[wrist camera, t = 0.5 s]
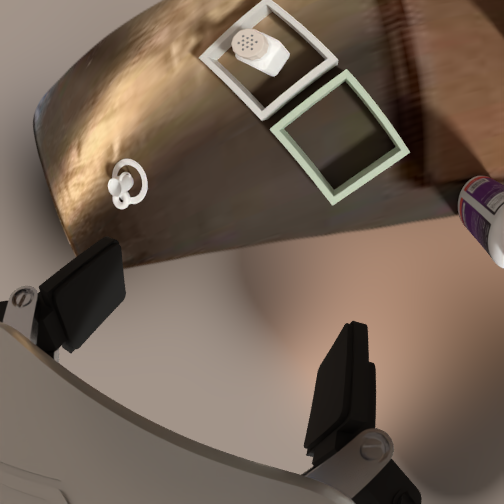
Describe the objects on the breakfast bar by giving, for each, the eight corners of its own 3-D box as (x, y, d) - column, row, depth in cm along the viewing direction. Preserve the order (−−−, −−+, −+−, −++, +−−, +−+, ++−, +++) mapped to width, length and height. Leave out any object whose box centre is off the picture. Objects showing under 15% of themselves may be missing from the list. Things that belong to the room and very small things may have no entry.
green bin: (345, 72, 26) (346, 68, 24) (404, 148, 29) (410, 152, 26) (274, 127, 32) (269, 129, 30) (332, 198, 35) (332, 205, 32)
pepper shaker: (275, 78, 29) (254, 68, 21) (248, 64, 29) (219, 51, 21) (292, 53, 27) (277, 34, 19) (264, 39, 27) (240, 18, 19)
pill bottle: (485, 236, 29) (531, 294, 17) (446, 217, 31) (490, 274, 19) (506, 187, 25) (564, 230, 13) (467, 163, 26) (526, 198, 14)
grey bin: (272, 4, 24) (266, -4, 21) (337, 64, 26) (338, 59, 24) (208, 60, 30) (198, 57, 27) (267, 119, 32) (261, 120, 30)
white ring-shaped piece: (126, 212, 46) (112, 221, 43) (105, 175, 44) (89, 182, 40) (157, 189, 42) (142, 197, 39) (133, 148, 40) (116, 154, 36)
